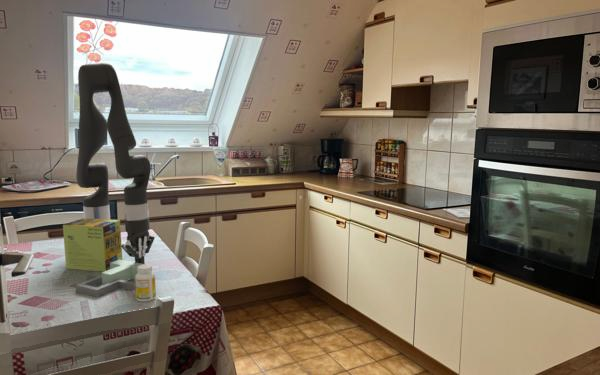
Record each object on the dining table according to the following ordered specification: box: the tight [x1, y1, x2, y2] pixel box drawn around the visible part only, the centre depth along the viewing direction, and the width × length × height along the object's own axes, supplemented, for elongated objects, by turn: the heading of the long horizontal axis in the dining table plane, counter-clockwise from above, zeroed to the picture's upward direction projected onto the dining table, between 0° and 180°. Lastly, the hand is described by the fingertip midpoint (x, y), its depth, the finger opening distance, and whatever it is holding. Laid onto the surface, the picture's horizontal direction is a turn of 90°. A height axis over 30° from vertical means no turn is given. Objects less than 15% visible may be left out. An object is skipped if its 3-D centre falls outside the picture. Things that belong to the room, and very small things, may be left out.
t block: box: [100, 259, 153, 286], centre depth 154 cm, size 12×14×4 cm
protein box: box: [62, 217, 124, 272], centre depth 167 cm, size 10×15×16 cm
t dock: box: [75, 272, 136, 298], centre depth 147 cm, size 19×10×2 cm, turn 63°
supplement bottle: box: [134, 263, 157, 303], centre depth 139 cm, size 5×5×10 cm
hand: (140, 267), depth 161 cm, fingers closed
